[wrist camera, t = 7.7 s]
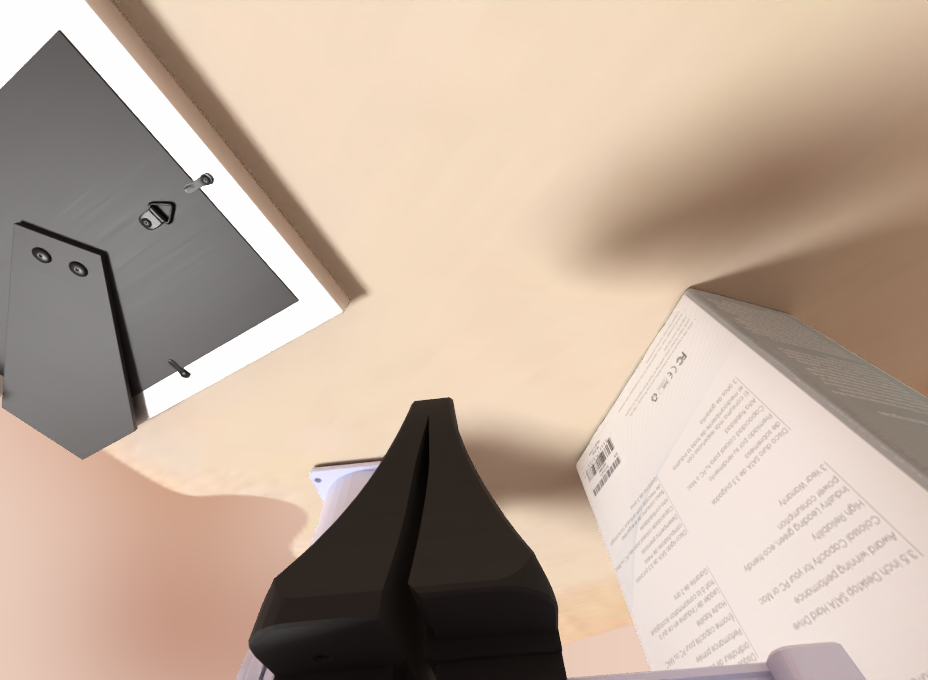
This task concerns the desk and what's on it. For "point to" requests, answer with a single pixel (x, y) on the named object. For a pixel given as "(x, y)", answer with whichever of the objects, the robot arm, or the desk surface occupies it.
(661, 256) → the desk surface
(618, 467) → the hard drive box
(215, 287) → the picture frame
